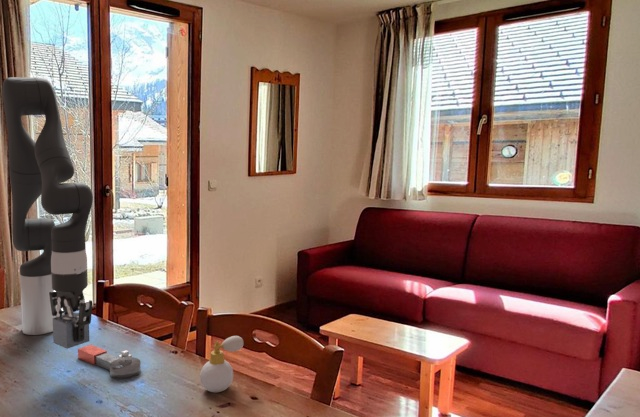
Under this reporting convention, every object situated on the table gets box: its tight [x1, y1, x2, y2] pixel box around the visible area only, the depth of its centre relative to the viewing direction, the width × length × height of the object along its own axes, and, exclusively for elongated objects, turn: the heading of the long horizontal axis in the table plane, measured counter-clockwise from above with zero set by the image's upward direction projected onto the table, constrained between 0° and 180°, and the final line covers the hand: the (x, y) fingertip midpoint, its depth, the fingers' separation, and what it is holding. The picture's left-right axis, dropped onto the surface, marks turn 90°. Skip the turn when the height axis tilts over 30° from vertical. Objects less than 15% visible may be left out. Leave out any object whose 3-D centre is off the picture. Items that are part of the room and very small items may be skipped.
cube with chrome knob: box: [52, 311, 90, 350], centre depth 120 cm, size 6×6×6 cm
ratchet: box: [77, 344, 142, 380], centre depth 128 cm, size 20×7×6 cm, turn 57°
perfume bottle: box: [199, 335, 244, 393], centre depth 117 cm, size 8×10×12 cm
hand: (71, 337), depth 121 cm, fingers closed on cube with chrome knob, 5 cm apart
